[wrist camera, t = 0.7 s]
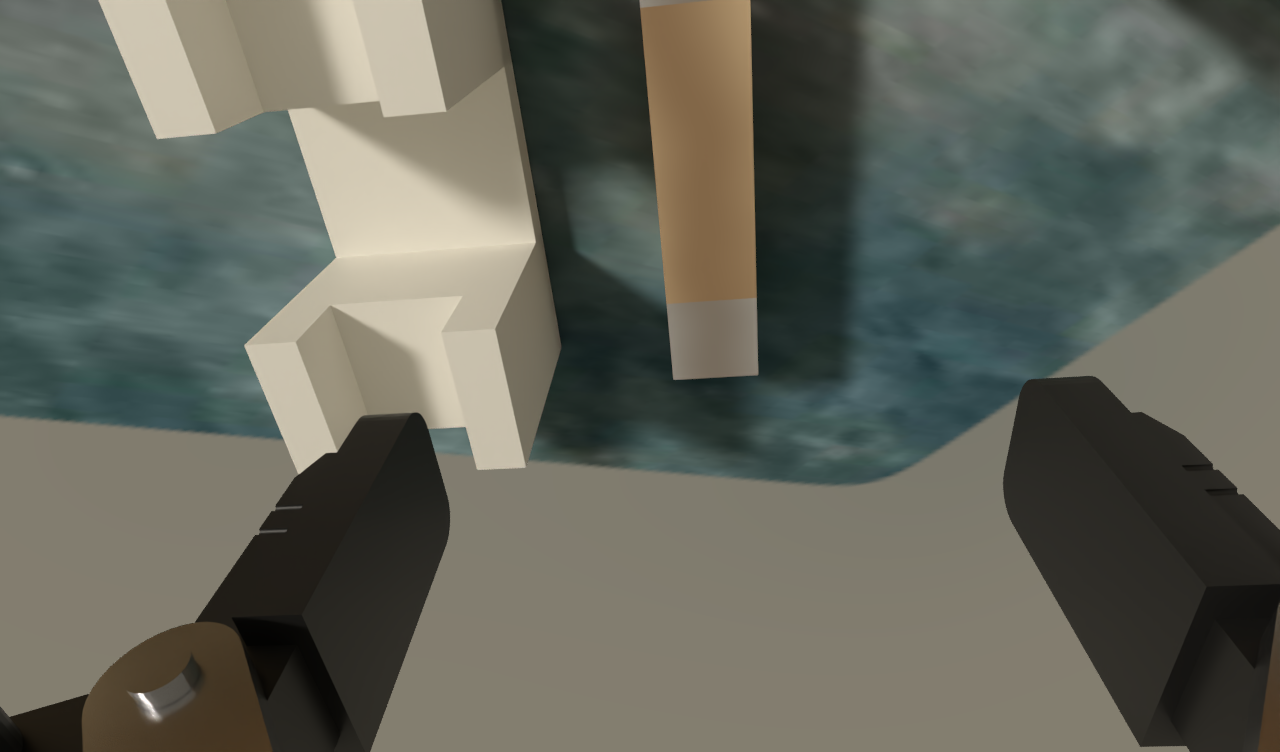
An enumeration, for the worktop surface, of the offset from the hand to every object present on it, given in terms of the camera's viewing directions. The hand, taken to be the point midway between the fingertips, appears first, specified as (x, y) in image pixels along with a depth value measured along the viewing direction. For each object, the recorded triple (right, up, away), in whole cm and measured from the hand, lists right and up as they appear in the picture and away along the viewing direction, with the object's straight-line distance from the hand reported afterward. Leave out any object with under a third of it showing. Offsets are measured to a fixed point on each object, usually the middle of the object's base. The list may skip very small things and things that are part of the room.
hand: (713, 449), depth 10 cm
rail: (+1, +9, +16) cm, 18 cm away
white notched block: (-9, +9, +17) cm, 21 cm away
